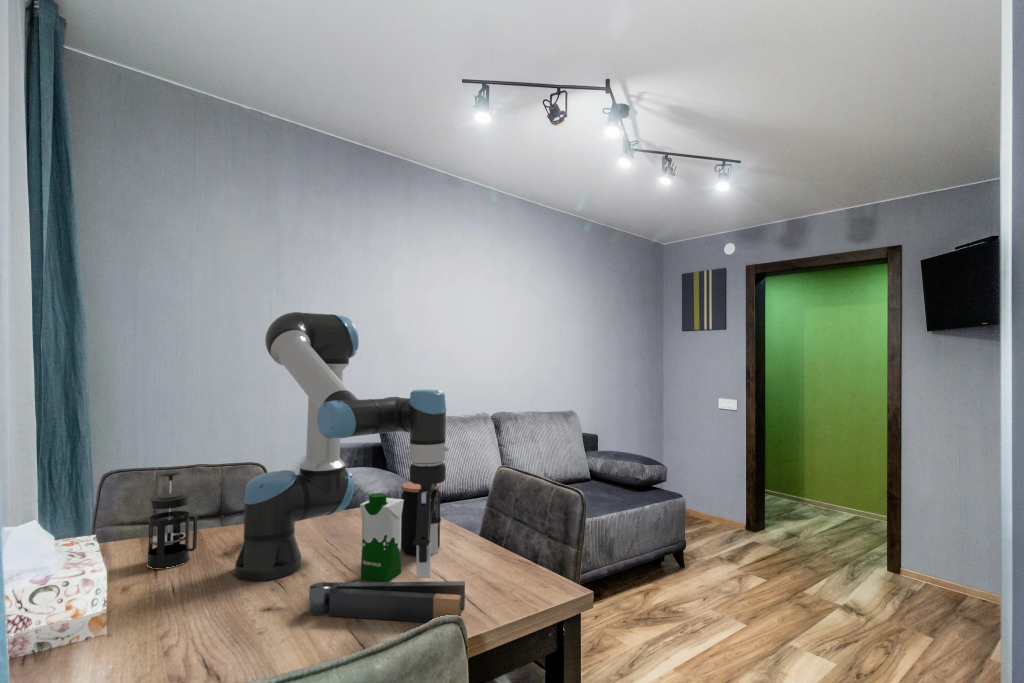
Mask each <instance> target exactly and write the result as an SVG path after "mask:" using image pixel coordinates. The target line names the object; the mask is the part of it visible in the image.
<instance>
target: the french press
mask: <svg viewBox="0 0 1024 683" xmlns="http://www.w3.org/2000/svg"><path fill="white" fill-rule="evenodd" d="M180 474H181V472H180V471H179V472H178V471H170V472H169V471H168V472H165V473H164V472H163V473H161V476H162V477H168V481H169V493H168V492H167V493H161V494H157V495H154V496H151V497H150V498H149V502H151V507H152V509H154V510H167V509H168V511H164V512H160V513H156V514H153V515H151V516H149V517H148V547H147V548H148V549H147V551H148V552H147V562H146V564H148V566H150V567H152V568H166V567H172V566H176V565H179V564H182V563H185V562H187V561H188V560H189V561H190V559H189V558H190V555H189V554H190V552H194V551H195V550H196V549H197V545H198V514H191V513H190V512H189V511H188V510H187V511H185V510H173V511H171V509H176V508H180V507H183V506H187V505H188V504H189V498H190V497H191V493H188V492H172V481H173V480H174V476H178V475H180ZM171 517H173V518H172V519H171ZM163 518H164V519H165V518H168V519H165V520H159V519H163ZM190 519H193V526H192V529H193V530H192V531H193V532H192V547H190V545H189V543H190V542H189V541H190ZM183 523H185V530H184V531H185V532H181V524H183ZM166 526H168V532H167V533H166ZM171 526H172V532H171ZM154 527H156V528H157V533H156V536H154ZM183 541H185V542H184V543H181V542H183ZM153 545H154V546H155V547H154V548H153ZM189 561H188V562H189ZM188 562H187V563H188ZM185 564H186V563H185Z"/></svg>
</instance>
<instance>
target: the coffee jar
mask: <svg viewBox="0 0 1024 683" xmlns="http://www.w3.org/2000/svg"><path fill="white" fill-rule="evenodd" d="M440 488H441V483H438V484H437V489H438V497H437V498H438V513H439V516H438V517H441V491H440ZM419 489H421V485H419V484H414V483H412V482H411V481H407V482H404V483H403V484H402V485H401V490H402V493H401V499H403V500H404V502H403V508H402V515H401V551H402V552H403V553H404V554H405V555H407V556H410V557H411V556H412V557H416V545H413V541H415V537H416V521H417V505H418V499H417V493H418V492H419ZM436 523H438V549H439V548H440V546H441V543H440V542H441V540H440V539H441V538H440V537H441V533H440V532H441V522H436ZM420 538H425V537H420Z"/></svg>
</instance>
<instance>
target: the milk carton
mask: <svg viewBox="0 0 1024 683" xmlns="http://www.w3.org/2000/svg"><path fill="white" fill-rule="evenodd" d="M403 502H404V500H403V499H402V498H392V497H387V494H386V493H383V492H380V493H379V492H376V493H371V494H369V496H368V500H366V501H364V502H363V503H360V505H359V508H360V513H361V558H360V559H361V560H360V561H361V564H360V580H362V581H365V582H391V581H392V580H393V579H394V578H395V577H397V576H399V575H400V574H401V573H402V558H401V553H402V552H401V551H402V549H401V515H402V508H403Z"/></svg>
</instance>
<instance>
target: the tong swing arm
mask: <svg viewBox="0 0 1024 683" xmlns="http://www.w3.org/2000/svg"><path fill="white" fill-rule="evenodd" d="M445 615H458V616H461V617H462V609H461V595H451V594H428V593H412V592H395V591H378V590H361V589H344V588H333V589H332V590H331V591H330V592H329V613H328V616H333V617H345V618H346V617H348V618H349V617H350V618H361V619H362V618H363V619H364V618H366V619H378V620H390V621H391V620H393V621H410V622H424V623H429V622H428V621H430V620H432V619H434V618H437V617H440V616H445Z"/></svg>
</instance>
